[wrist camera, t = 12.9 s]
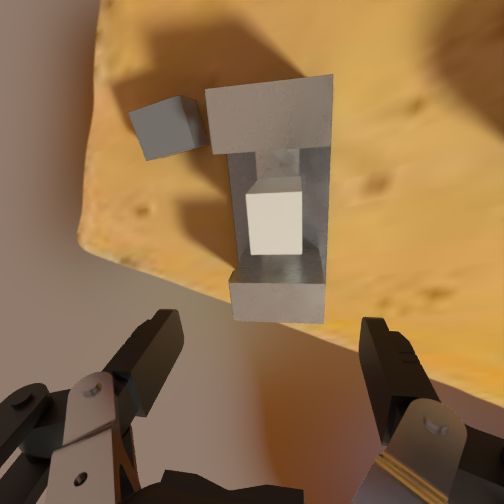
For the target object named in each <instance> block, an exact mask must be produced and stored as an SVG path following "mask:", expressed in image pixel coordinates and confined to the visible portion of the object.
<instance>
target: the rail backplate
mask: <svg viewBox="0 0 504 504" xmlns="http://www.w3.org/2000/svg"><path fill="white" fill-rule="evenodd" d="M205 100H206V107H207V115H208V123H209V131H210V139H211V147H212V152H213V155H215V154H227V159H228V168H229V177H230V187H231V196H232V206H233V215H234V224H235V234H236V243H237V253H238V265H237V267H236V269H235V271H233V272H232V274H231V276H230V278H229V289H230V297H231V305H232V312H233V316H234V321H257V322H283V323H309V324H324V307H325V285H326V260H327V233H328V207H329V181H330V155H331V128H332V102H333V74H331V75H322V76H314V77H305V78H296V79H288V80H279V81H271V82H262V83H253V84H245V85H236V86H227V87H219V88H210V89H205ZM293 176H301V184H302V254H283V255H251V250H250V248H249V237H248V226H247V215H246V203H245V196H246V193H247V192H248V191H249V190H250V188H251V187H252V186H253V185H254V184H255V182H256V181H257V180H258V179H259V178H275V177H293Z"/></svg>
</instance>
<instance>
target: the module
mask: <svg viewBox="0 0 504 504" xmlns="http://www.w3.org/2000/svg"><path fill="white" fill-rule="evenodd" d="M245 203H246V215H247V226H248V237H249V248H250V250H251V255H283V254H302V184H301V176H293V177H275V178H259V179H258V180H257V181H256V182H255V184H254V185H253V186H252V187H251V188H250V190H249V191H248V192H247V193H246V196H245Z"/></svg>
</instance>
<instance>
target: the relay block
mask: <svg viewBox="0 0 504 504" xmlns="http://www.w3.org/2000/svg"><path fill="white" fill-rule="evenodd" d="M128 114H129V116H130V119H131V121H132V124H133V127H134V129H135V132H136V135H137V137H138V140H139V143H140V145H141V148H142V150H143V153H144V156H145V158H146V161H149V160H154V159H159V158H164V157H168V156H172V155H175V154H179V153H183V152H186V151H190V150H193V149H197V148H200V147H204V146H207V145H209V144H208V141H207V137H206V134H205V130H204V127H203V124H202V120H201V117H200V113H199V110H198V106H197V103H196V100H193V99H190V98H187V97H183V96H180V95H178V96H175V97H172V98H169V99H166V100H163V101H160V102H158V103H155V104H152V105H149V106H146V107H143V108H140V109H137V110H134V111H131V112H128Z"/></svg>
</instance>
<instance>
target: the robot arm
mask: <svg viewBox="0 0 504 504" xmlns="http://www.w3.org/2000/svg"><path fill="white" fill-rule="evenodd" d="M183 344H184V334H183V330H182V325H181V321H180V317H179V312H178V311H177V310H176V309H159V310H158V311H157V313H156V314H155V315H154V316H153V318H152V319H151V320H147V321H145V322H144V323H143V324H141V325H140V326H138V327H137V329H136V330H135V331H134V332H133V333H132V335H131V337H129V338H128V339H127V341H126V342H125V345H123V346H122V347H121V348H120V349H119V351H118V352H117V353H116V354H115V355H114V357H113V358H112V359H111V360H110V362H109V363H108V364H107V365H106V367H105V368H104V369H103V370H102V371H101V372H95V373H92V374H90V375H88V376H86V377H84V378H82V379H81V380H80V381H78V382H77V383H76V384H75V385H74V386H73V387H72V389H68V390H63V391H58V392H53V393H49V391H48V389H47V387H46V385H44V384H42V383H34V384H31V385H27V386H25V387H22V388H20V389H18V390H17V391H15V392H13V393H12V394H11V395H9V396H8V397H7V398H6V399H5V400H4V401H3V402H2V403H0V468H1V466H2V465H3V464H4V463H5V462H6V460H7V459H8V458H9V457H10V455H11V454H12V453H13V452H14V451H15V450H16V448H17V447H19V448H20V450H21V451H22V453H21V454H20V455H19V457H18V458H17V459H16V460H15V462H14V463H13V464H12V465H11V467H10V468H9V469H8V470H7V472H6V473H5V474H4V475H3V477H2V478H1V479H0V504H36V502H37V501H38V499H39V498H40V496H41V495H42V493H43V492H44V490H45V488H46V487H47V492H46V499H45V504H306V503H304V496H303V495H304V494H303V490H300V489H294V488H287V487H280V486H274V485H262V486H256V487H250V488H244V489H238V490H227V489H224V488H222V487H221V486H219V485H217V484H215V483H213V482H211V481H209V480H207V479H205V478H203V477H201V476H199V475H197V474H192V473H185V472H179V471H172V470H165V472H164V474H163V477H162V479H161V482H158V483H155V484H152V485H149V486H147V487H144V488H142V489H141V485H140V482H139V478H138V472H137V464H136V456H135V448H134V440H133V432H132V426H131V422H132V420H133V419H134V417H135V416H140V417H147V415H148V413H149V411H150V409H151V407H152V405H153V403H154V402H155V400H156V398H157V396H158V394H159V392H160V390H161V388H162V386H163V385H164V383H165V381H166V379H167V377H168V375H169V373H170V371H171V369H172V368H173V365H174V363H175V362H176V360H177V358H178V356H179V354H180V352H181V350H182V348H183ZM359 359H360V364H361V368H362V372H363V375H364V379H365V383H366V387H367V391H368V394H369V398H370V402H371V406H372V409H373V413H374V417H375V421H376V425H377V429H378V432H379V436H380V440H381V444H382V445H384V446H387V447H386V449H385V451H384V453H383V454H382V455H380V454H379V455H378V456H377V457H376V459H375V461H374V462H373V464H372V466H371V467H370V470H369V471H368V473H367V475H366V477H365V478H364V480H363V482H362V484H361V486H360V488H359V489H358V491H357V493H356V495H355V497H354V498H353V500H352V502H351V504H447V503H449V504H504V439H502V438H499V437H496V436H493V435H491V434H488V433H485V432H482V431H479V430H477V429H474V428H472V427H470V426H468V425H466V424H464V423H463V421H462V420H461V418H460V417H459V416H458V415H457V414H456V413H455V412H454V411H453V410H451V409H450V408H449V407H447V406H446V405H444V404H442V403H441V401H440V400H439V398H438V396H437V394H436V392H435V390H434V388H433V386H432V384H431V382H430V380H429V378H428V376H427V375H426V373H425V371H424V369H423V367H422V365H421V364H420V361H419V359H418V357H417V355H415V351H414V350H413V348H412V346H411V344H410V342H409V341H408V340H407V339H406V338H405V337H404V336H403V335H402V334H401V333H399V332H396V331H389V329H388V327H387V324H386V322H385V320H384V319H383V318H374V317H363V318H362V323H361V331H360V340H359Z"/></svg>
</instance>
